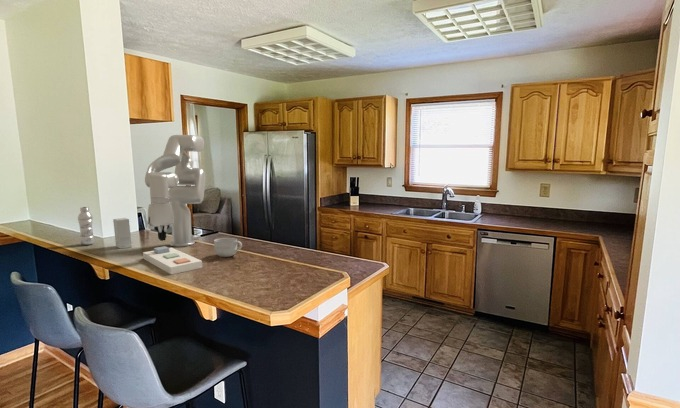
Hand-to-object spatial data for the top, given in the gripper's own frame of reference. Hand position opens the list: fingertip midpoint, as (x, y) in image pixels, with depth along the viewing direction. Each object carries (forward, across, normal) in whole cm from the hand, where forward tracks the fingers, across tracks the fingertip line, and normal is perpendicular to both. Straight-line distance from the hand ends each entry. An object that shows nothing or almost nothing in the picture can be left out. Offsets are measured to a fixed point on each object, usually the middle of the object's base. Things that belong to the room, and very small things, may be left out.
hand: (162, 240), depth 167 cm
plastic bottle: (+10, +18, -55) cm, 58 cm away
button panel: (+9, +1, +10) cm, 14 cm away
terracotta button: (+7, +1, +21) cm, 22 cm away
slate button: (+6, 0, -1) cm, 6 cm away
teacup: (+9, -23, +18) cm, 31 cm away
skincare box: (+9, +6, -37) cm, 38 cm away
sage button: (+7, +1, +10) cm, 13 cm away
